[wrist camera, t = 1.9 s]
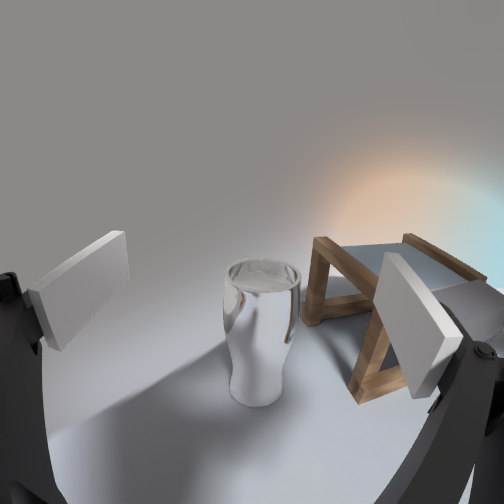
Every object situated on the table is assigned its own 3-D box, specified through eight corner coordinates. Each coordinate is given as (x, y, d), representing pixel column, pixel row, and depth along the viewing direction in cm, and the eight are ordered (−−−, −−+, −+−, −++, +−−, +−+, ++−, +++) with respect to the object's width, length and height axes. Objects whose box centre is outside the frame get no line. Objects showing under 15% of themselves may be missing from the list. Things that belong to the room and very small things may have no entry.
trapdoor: (438, 367, 19) (456, 331, 17) (331, 263, 39) (335, 236, 37) (503, 329, 22) (516, 300, 21) (403, 257, 42) (408, 233, 40)
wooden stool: (391, 299, 48) (407, 231, 43) (457, 360, 31) (492, 280, 26) (300, 315, 44) (310, 234, 39) (358, 404, 27) (396, 307, 22)
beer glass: (297, 383, 31) (317, 270, 25) (263, 421, 26) (275, 303, 20) (250, 359, 35) (254, 250, 29) (213, 390, 29) (205, 274, 24)
